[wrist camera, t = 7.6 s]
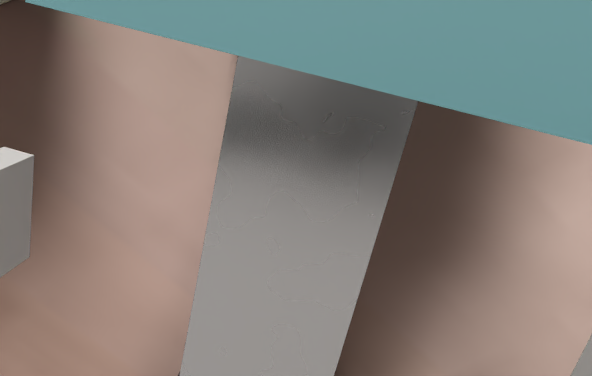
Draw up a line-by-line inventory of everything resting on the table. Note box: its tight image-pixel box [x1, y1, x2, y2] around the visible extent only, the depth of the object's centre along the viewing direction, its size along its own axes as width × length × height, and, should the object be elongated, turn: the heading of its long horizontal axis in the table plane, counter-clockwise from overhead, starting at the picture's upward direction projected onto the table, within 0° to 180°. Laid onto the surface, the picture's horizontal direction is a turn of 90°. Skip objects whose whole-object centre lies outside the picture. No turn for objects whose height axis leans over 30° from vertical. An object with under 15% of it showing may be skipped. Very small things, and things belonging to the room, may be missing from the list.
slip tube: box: [180, 56, 418, 376], centre depth 16 cm, size 4×22×4 cm, turn 167°
